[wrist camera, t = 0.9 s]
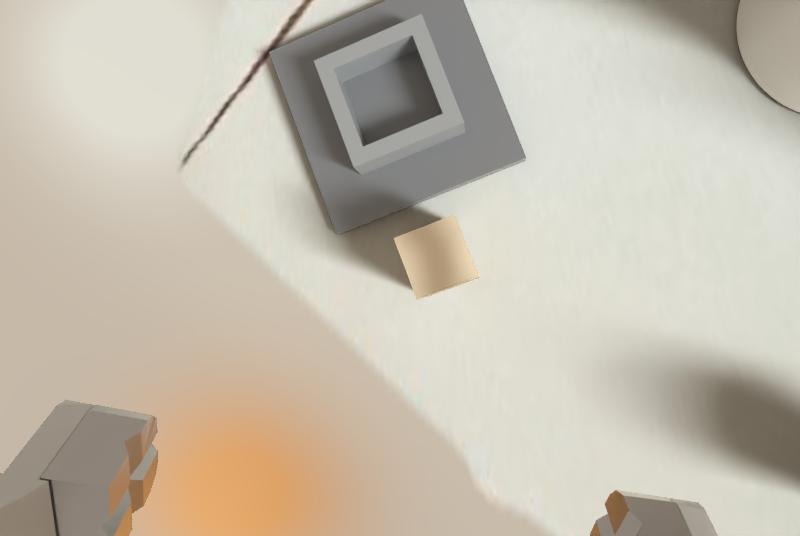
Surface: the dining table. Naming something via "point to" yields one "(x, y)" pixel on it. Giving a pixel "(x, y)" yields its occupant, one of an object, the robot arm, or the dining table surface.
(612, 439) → the dining table surface
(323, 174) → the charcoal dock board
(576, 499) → the dining table surface
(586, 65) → the dining table surface
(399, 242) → the wooden block
